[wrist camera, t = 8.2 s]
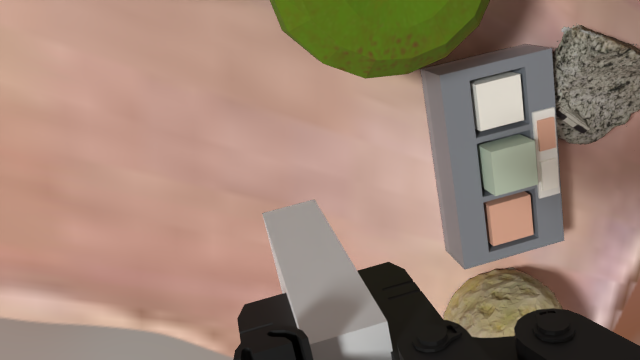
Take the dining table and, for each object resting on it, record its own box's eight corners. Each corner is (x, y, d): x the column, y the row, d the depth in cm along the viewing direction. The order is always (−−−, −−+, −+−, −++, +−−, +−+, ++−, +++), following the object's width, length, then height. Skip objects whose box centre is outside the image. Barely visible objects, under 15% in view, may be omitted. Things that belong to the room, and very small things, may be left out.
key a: (462, 80, 41) (475, 85, 39) (505, 70, 41) (520, 74, 39) (467, 125, 42) (480, 131, 40) (509, 114, 42) (524, 120, 40)
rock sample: (526, 161, 41) (650, 97, 35) (489, 67, 44) (598, -7, 38) (596, 169, 48) (711, 116, 42) (560, 87, 50) (663, 26, 44)
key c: (476, 197, 44) (489, 206, 42) (515, 186, 44) (530, 194, 42) (480, 235, 45) (493, 246, 43) (519, 224, 45) (533, 234, 43)
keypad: (420, 69, 41) (441, 76, 38) (524, 43, 42) (555, 48, 39) (445, 250, 46) (467, 271, 43) (539, 223, 47) (567, 242, 44)
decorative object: (523, 303, 54) (615, 294, 45) (495, 413, 50) (590, 426, 41) (443, 256, 52) (523, 236, 43) (406, 366, 47) (487, 370, 39)
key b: (477, 144, 41) (491, 152, 39) (519, 134, 42) (534, 140, 40) (482, 187, 42) (495, 196, 40) (523, 176, 43) (538, 184, 41)
